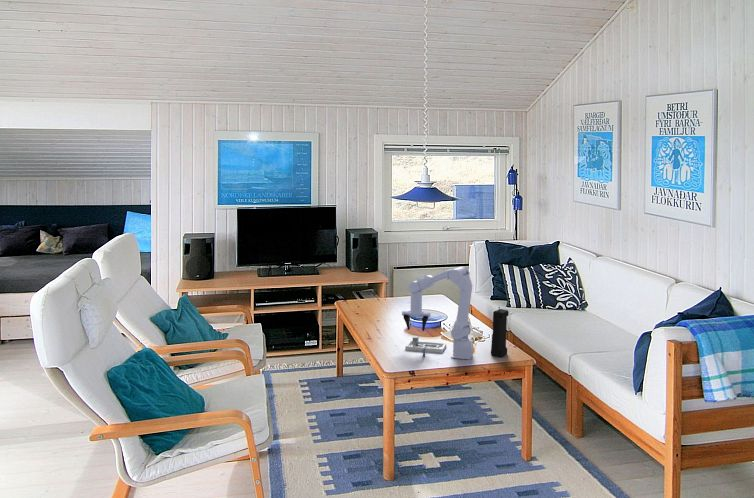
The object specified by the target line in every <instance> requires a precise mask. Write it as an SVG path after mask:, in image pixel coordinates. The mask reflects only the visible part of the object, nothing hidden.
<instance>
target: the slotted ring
mask: <svg viewBox="0 0 754 498" xmlns="http://www.w3.org/2000/svg"><path fill="white" fill-rule="evenodd" d="M419 338H420V337H419V336H417V335H413V337H412V340H413V346H417V347H429V348H439V345H431V344H424V345H421V344H418V341H419Z"/></svg>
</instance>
